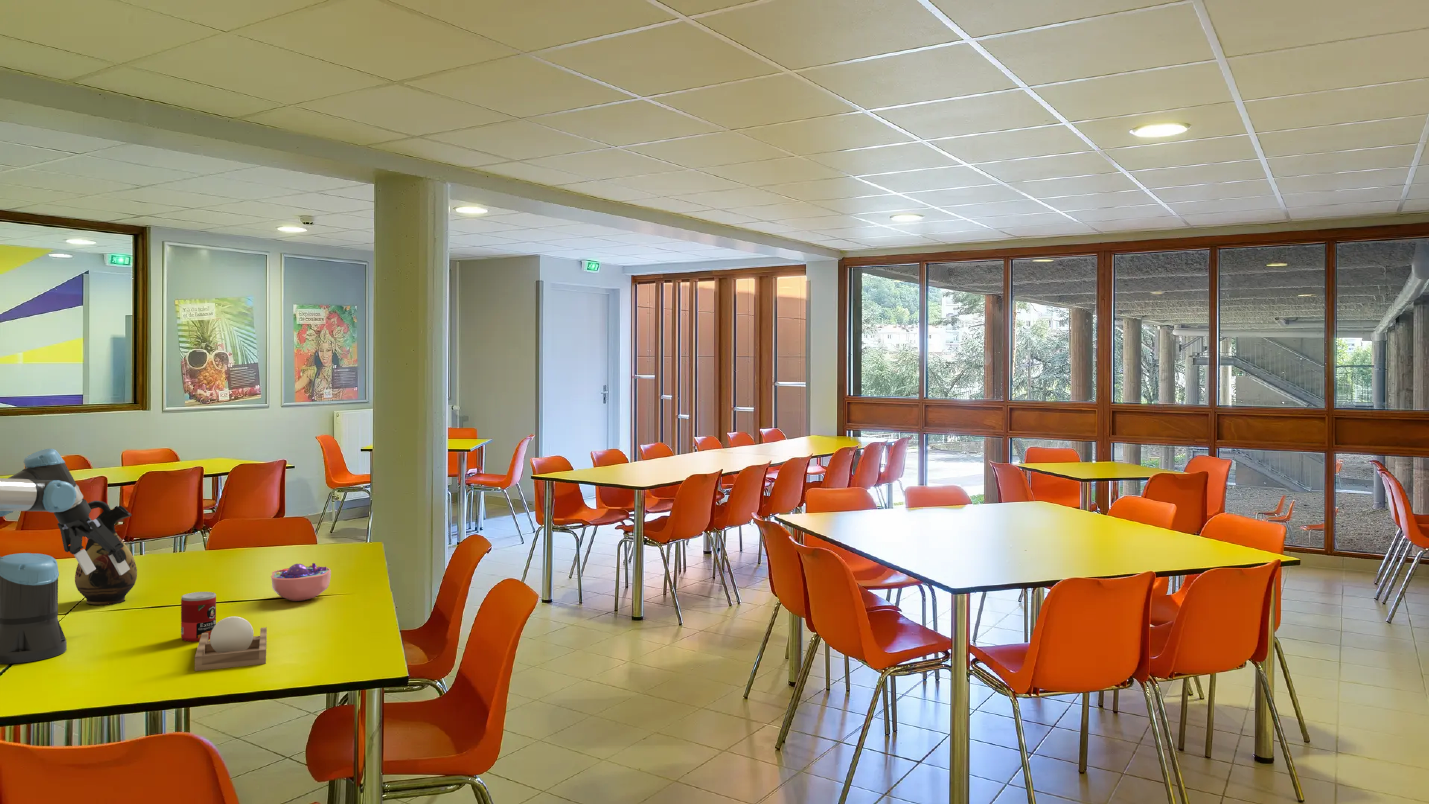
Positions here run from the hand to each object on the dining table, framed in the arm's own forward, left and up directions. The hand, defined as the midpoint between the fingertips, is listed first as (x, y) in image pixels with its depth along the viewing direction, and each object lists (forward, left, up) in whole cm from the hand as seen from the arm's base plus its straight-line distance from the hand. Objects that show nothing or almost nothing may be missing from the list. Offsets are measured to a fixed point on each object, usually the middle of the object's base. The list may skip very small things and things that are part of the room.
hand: (107, 572), depth 247 cm
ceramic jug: (+17, +25, -14) cm, 33 cm away
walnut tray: (-10, -54, -14) cm, 57 cm away
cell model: (+42, -25, -14) cm, 51 cm away
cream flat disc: (-13, -58, -13) cm, 61 cm away
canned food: (-2, -34, -14) cm, 37 cm away
